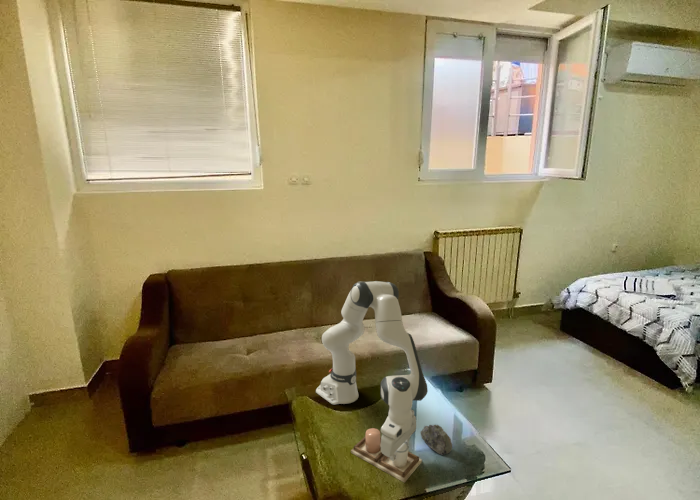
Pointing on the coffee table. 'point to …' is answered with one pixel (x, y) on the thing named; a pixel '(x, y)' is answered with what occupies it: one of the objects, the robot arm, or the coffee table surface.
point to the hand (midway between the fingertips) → (399, 452)
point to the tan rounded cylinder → (373, 440)
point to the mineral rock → (437, 439)
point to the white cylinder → (401, 455)
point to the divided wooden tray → (387, 461)
